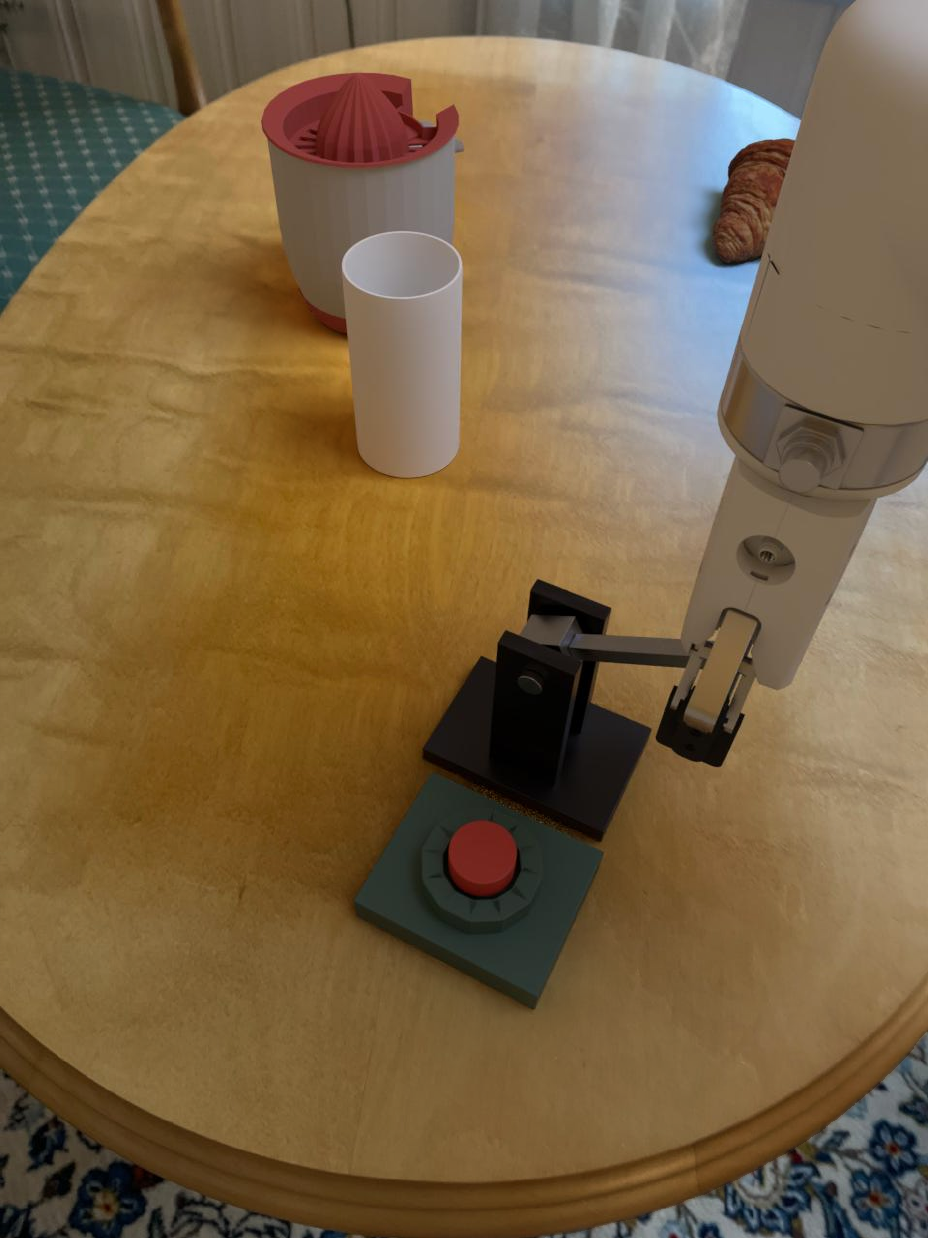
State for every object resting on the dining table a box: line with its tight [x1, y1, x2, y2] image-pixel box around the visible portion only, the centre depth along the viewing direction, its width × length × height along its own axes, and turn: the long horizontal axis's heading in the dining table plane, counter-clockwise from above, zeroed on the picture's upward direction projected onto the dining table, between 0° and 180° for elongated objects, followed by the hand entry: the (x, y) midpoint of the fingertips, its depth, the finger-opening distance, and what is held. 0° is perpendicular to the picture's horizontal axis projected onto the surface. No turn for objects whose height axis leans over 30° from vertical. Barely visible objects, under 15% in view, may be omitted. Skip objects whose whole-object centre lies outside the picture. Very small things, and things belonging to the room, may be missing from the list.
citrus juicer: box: [260, 72, 465, 334], centre depth 83 cm, size 16×17×20 cm
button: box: [448, 820, 517, 897], centre depth 52 cm, size 4×4×2 cm
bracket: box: [422, 578, 653, 843], centre depth 56 cm, size 12×8×13 cm, turn 63°
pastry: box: [711, 137, 796, 265], centre depth 97 cm, size 17×15×8 cm
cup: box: [342, 231, 464, 479], centre depth 72 cm, size 8×8×16 cm
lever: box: [518, 615, 753, 701], centre depth 50 cm, size 12×5×2 cm, turn 63°
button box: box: [353, 771, 604, 1010], centre depth 54 cm, size 11×9×4 cm
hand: (721, 673), depth 48 cm, fingers open, 9 cm apart
